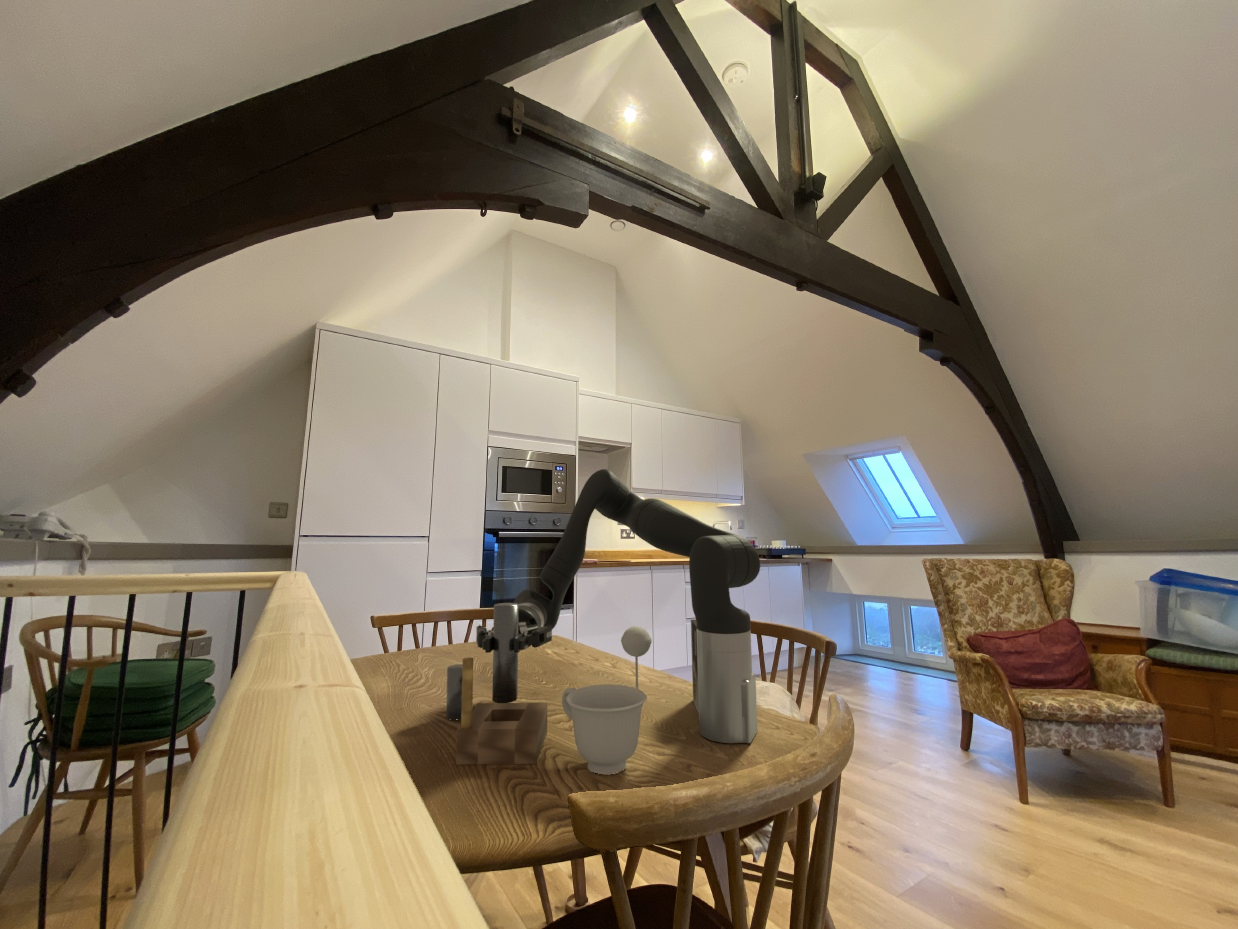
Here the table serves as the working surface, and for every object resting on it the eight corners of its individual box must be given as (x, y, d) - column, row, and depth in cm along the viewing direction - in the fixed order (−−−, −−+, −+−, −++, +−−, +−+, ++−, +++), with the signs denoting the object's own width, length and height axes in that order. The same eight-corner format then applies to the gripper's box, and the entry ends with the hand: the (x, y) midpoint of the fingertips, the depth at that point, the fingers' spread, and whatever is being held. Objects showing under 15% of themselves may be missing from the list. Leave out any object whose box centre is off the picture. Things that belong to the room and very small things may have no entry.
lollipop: (617, 707, 105) (617, 628, 106) (626, 698, 110) (625, 623, 112) (648, 710, 103) (647, 629, 105) (655, 700, 108) (654, 624, 110)
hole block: (547, 733, 92) (547, 642, 94) (536, 763, 80) (536, 659, 82) (477, 733, 92) (479, 643, 94) (455, 764, 80) (458, 660, 82)
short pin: (472, 714, 101) (473, 665, 102) (458, 721, 98) (459, 670, 99) (456, 712, 103) (457, 663, 104) (441, 718, 100) (442, 668, 101)
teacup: (590, 739, 89) (589, 676, 90) (664, 763, 80) (662, 693, 81) (535, 764, 80) (535, 694, 81) (611, 795, 71) (611, 715, 72)
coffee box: (732, 715, 100) (729, 626, 102) (697, 715, 100) (695, 626, 102) (724, 699, 109) (721, 617, 111) (692, 699, 109) (690, 618, 111)
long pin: (522, 697, 88) (523, 603, 90) (507, 704, 85) (508, 607, 86) (502, 693, 90) (504, 602, 91) (487, 701, 86) (488, 605, 88)
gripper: (485, 605, 103) (457, 622, 86) (559, 604, 103) (546, 621, 86) (484, 645, 102) (456, 670, 85) (559, 645, 102) (546, 670, 85)
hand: (502, 646), depth 85 cm, fingers closed on long pin, 4 cm apart
